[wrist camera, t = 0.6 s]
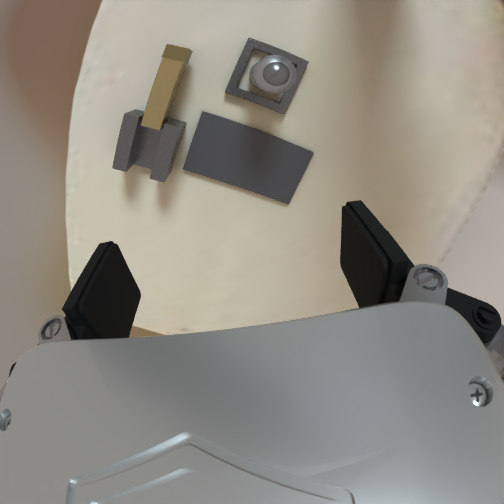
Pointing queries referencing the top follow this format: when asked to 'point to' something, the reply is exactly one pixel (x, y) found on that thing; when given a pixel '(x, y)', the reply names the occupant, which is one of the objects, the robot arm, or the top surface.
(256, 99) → the socket collar
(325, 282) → the top surface
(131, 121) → the socket block
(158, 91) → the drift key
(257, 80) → the peg
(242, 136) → the mat
